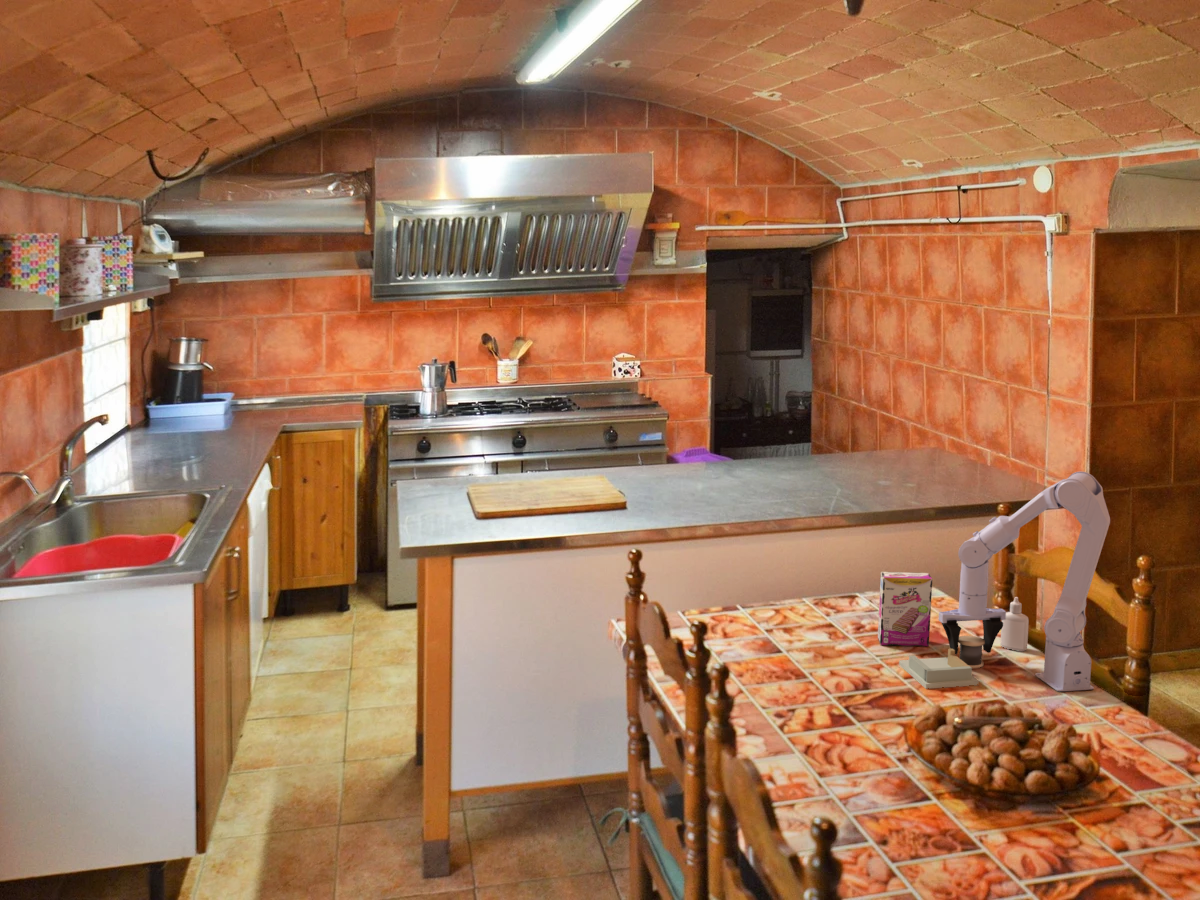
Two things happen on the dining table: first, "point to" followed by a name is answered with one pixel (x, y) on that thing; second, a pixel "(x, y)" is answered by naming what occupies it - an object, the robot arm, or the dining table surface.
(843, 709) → the dining table surface
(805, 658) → the dining table surface
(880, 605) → the candy bar box
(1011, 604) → the eye dropper bottle
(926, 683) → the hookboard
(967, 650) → the spool
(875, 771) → the dining table surface
